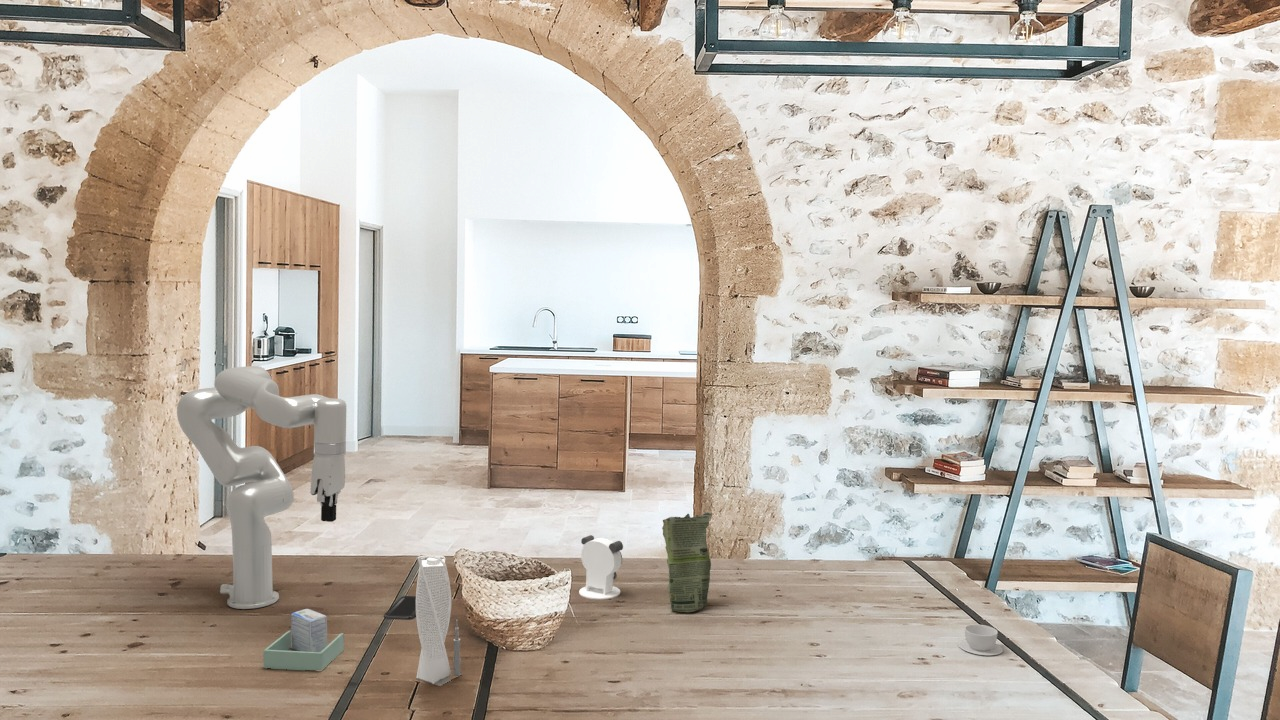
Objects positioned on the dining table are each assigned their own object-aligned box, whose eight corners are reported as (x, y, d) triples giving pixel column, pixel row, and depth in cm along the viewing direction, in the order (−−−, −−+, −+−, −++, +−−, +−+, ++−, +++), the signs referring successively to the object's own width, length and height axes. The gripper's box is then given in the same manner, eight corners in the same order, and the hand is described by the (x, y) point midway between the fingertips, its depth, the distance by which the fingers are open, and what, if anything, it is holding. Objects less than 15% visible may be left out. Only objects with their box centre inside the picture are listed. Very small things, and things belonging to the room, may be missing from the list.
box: (263, 668, 204) (263, 650, 204) (288, 647, 216) (288, 630, 216) (321, 671, 203) (321, 653, 203) (343, 649, 215) (343, 633, 215)
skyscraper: (435, 690, 195) (434, 559, 193) (407, 681, 199) (406, 553, 197) (463, 676, 202) (462, 549, 200) (435, 667, 207) (435, 543, 204)
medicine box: (328, 652, 214) (327, 615, 213) (310, 658, 210) (310, 620, 209) (308, 643, 218) (307, 607, 218) (291, 649, 215) (290, 612, 214)
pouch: (658, 610, 243) (660, 516, 241) (674, 596, 254) (675, 506, 252) (699, 616, 239) (701, 521, 237) (713, 602, 250) (715, 510, 248)
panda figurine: (630, 591, 258) (630, 538, 257) (606, 602, 249) (607, 547, 248) (594, 583, 265) (595, 531, 264) (570, 594, 255) (571, 540, 254)
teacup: (982, 660, 214) (983, 640, 214) (949, 645, 223) (949, 626, 223) (1012, 652, 219) (1013, 633, 219) (978, 638, 228) (979, 619, 227)
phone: (382, 615, 235) (403, 595, 250) (382, 620, 235) (403, 599, 250) (413, 616, 235) (431, 596, 249) (413, 621, 235) (431, 600, 249)
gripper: (329, 441, 239) (327, 511, 241) (300, 453, 224) (299, 527, 226) (357, 444, 238) (355, 514, 240) (330, 455, 223) (329, 530, 225)
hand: (328, 520), depth 233 cm, fingers closed
